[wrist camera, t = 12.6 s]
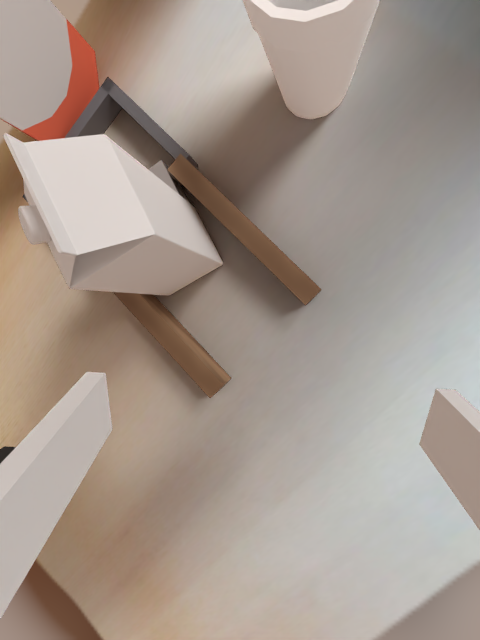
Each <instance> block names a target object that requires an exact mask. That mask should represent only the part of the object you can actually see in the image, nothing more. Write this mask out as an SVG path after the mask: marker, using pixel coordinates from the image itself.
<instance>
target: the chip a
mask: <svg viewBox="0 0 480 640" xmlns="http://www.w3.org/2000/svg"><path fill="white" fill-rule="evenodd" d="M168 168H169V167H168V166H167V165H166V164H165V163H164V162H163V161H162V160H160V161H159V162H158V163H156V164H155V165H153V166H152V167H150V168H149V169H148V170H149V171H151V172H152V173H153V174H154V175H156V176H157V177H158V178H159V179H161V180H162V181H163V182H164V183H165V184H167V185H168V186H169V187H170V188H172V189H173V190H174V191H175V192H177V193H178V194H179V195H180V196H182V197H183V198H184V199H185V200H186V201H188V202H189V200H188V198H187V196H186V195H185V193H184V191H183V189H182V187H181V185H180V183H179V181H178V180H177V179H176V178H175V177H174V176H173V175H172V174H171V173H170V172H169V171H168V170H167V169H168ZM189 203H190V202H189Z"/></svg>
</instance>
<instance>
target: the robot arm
mask: <svg viewBox="0 0 480 640" xmlns="http://www.w3.org/2000/svg"><path fill="white" fill-rule="evenodd" d="M111 431H112V421H111V413H110V404H109V396H108V388H107V380H106V373H101V372H86V373H85V374H84V375H83V376H82V377H81V378H80V379H79V380H78V381H77V383H76V384H75V385H74V386H73V387H72V388H71V389H70V390H69V391H68V392H67V393H66V394H65V395H64V396H63V397H62V399H61V400H60V401H59V402H58V403H57V404H56V405H55V406H54V407H53V408H52V409H51V410H50V411H49V412H48V413H47V415H46V416H45V417H44V418H43V419H42V420H41V421H40V422H39V423H38V424H37V425H36V426H35V427H34V428H33V429H32V431H31V432H30V433H29V434H28V435H27V436H26V437H25V438H24V439H23V440H22V441H21V442H20V443H19V444H18V445H17V447H3V448H1V449H0V619H1V617H2V616H3V614H4V612H5V611H6V609H7V607H8V605H9V604H10V602H11V600H12V599H13V597H14V595H15V594H16V592H17V590H18V589H19V587H20V585H21V583H22V582H23V580H24V578H25V577H26V575H27V573H28V572H29V570H30V568H31V566H32V565H33V563H34V561H35V560H36V558H37V556H38V555H39V553H40V551H41V550H42V548H43V546H44V544H45V543H46V541H47V539H48V538H49V536H50V534H51V533H52V531H53V529H54V527H55V526H56V524H57V522H58V521H59V519H60V517H61V516H62V514H63V512H64V511H65V509H66V507H67V505H68V504H69V502H70V500H71V499H72V497H73V495H74V494H75V492H76V490H77V488H78V487H79V485H80V483H81V482H82V480H83V478H84V477H85V475H86V473H87V472H88V470H89V468H90V466H91V465H92V463H93V461H94V460H95V458H96V456H97V455H98V453H99V451H100V449H101V448H102V446H103V444H104V443H105V441H106V439H107V438H108V436H109V434H110V432H111ZM419 445H420V446H421V447H422V449H423V450H424V452H425V453H426V454H427V456H428V457H429V459H430V460H431V462H432V463H433V464H434V466H435V467H436V469H437V470H438V472H439V473H440V474H441V476H442V477H443V479H444V480H445V482H446V483H447V484H448V486H449V487H450V489H451V490H452V492H453V493H454V494H455V496H456V497H457V499H458V500H459V501H460V503H461V504H462V506H463V507H464V509H465V510H466V511H467V513H468V514H469V516H470V517H471V519H472V520H473V521H474V523H475V524H476V526H477V527H478V529H479V530H480V412H479V411H478V410H477V409H476V408H475V407H474V406H473V405H472V404H471V403H470V402H468V401H467V400H466V399H465V398H464V397H463V396H462V395H461V394H460V393H459V392H457V391H456V390H454V389H436V390H435V394H434V397H433V400H432V404H431V407H430V410H429V414H428V417H427V420H426V424H425V427H424V430H423V434H422V437H421V440H420V444H419Z"/></svg>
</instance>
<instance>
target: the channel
mask: <svg viewBox="0 0 480 640" xmlns="http://www.w3.org/2000/svg"><path fill="white" fill-rule="evenodd" d="M167 170H168V171H169V172H170V173H171V174H172V175H173V176H174V177H175V178H176V179H177V180H178V181H179V182H180V183H181V184H182V185H183V186H184V187H185V188H187V189H188V190H189V191H190V192H191V193H192V194H193V195H194V196H195V197H196V198H197V199H198V200H199V201H200V202H201V203H202V204H203V205H204V206H205V207H206V208H207V209H208V210H209V211H210V212H211V213H212V214H213V215H214V216H215V217H216V218H217V219H218V220H219V221H220V222H221V223H222V224H223V225H224V226H225V227H226V228H227V229H228V230H229V231H230V232H231V233H232V234H233V235H234V236H235V237H236V238H237V239H238V240H239V241H240V242H241V243H242V244H243V245H244V246H246V247H247V248H248V249H249V250H250V251H251V252H252V253H253V254H254V255H255V256H256V257H257V258H258V259H259V260H260V261H261V262H262V263H263V264H264V265H265V266H266V267H267V268H268V269H269V270H270V271H271V272H272V273H273V274H274V275H275V276H276V277H277V278H278V279H279V280H280V281H281V282H282V283H283V284H284V285H285V286H286V287H287V288H288V289H289V290H290V291H291V292H292V293H293V294H294V295H295V296H296V297H297V298H298V299H299V300H300V301H301V302H302V303H304V304H305V305H307V304H308V303H309V302H310V301H311V300H312V299H313V298H314V297H315V296H316V295H317V294H318V293H319V292H320V291H321V289H320V288H319V287H318V286H317V285H316V284H315V283H314V282H313V281H312V280H311V279H310V278H309V277H308V276H307V275H306V274H305V273H304V272H303V271H302V270H301V269H300V268H299V267H298V266H297V265H296V264H295V263H293V262H292V261H291V260H290V259H289V258H288V257H287V256H286V255H285V254H284V253H283V252H282V251H281V250H280V249H279V248H278V247H277V246H276V245H275V244H274V243H273V242H272V241H271V240H270V239H269V238H268V237H267V236H266V235H264V234H263V233H262V232H261V231H260V230H259V229H258V228H257V227H256V226H255V225H254V224H253V223H252V222H251V221H250V220H249V219H248V218H247V217H246V216H245V215H244V214H243V213H242V212H241V211H240V210H239V209H238V208H237V207H235V206H234V205H233V204H232V203H231V202H230V201H229V200H228V199H227V198H226V197H225V196H224V195H223V194H222V193H221V192H220V191H219V190H218V189H217V188H216V187H215V186H214V185H213V184H212V183H211V182H210V181H209V180H207V179H206V178H205V177H204V176H203V175H202V174H201V173H200V172H199V171H198V170H197V169H196V168H195V167H194V166H193V165H192V164H191V163H190V162H189V161H188V160H187V159H186V158H185V157H184V156H183V155H182V154H181V153H180V154H179V156H178V157H177V158H176V159H175V161H174V162H173V163H172V164H171V166H170V167H169V168H168V169H167ZM113 293H114V294H115V295H116V296H117V297H118V298H119V299H120V300H121V301H122V303H123V304H124V305H125V306H126V307H127V308H128V309H129V310H130V311H131V312H132V314H133V315H134V316H135V317H136V318H137V319H138V320H139V321H140V322H141V323H142V324H143V326H144V327H145V328H146V329H147V330H148V331H149V332H150V333H151V334H152V335H153V336H154V338H155V339H156V340H157V341H158V342H159V343H160V344H161V345H162V346H163V347H164V349H165V350H166V351H167V352H168V353H169V354H170V355H171V356H172V357H173V358H174V359H175V361H176V362H177V363H178V364H179V365H180V366H181V367H182V368H183V369H184V370H185V372H186V373H187V374H188V375H189V376H190V377H191V378H192V379H193V380H194V381H195V382H196V384H197V385H198V386H199V387H200V388H201V389H202V390H203V391H204V392H205V393H206V395H207V396H208V397H209V398H211V397H212V396H213V395H214V394H215V393H217V392H218V391H219V390H220V389H221V388H222V387H223V386H224V385H225V384H226V383H227V382H228V381H229V380H230V379H231V377H230V376H229V375H228V374H227V373H226V372H225V371H224V370H223V369H222V368H221V366H220V365H219V364H218V363H217V362H216V361H215V360H214V359H213V358H212V357H211V356H210V355H209V354H208V353H207V351H206V350H205V349H204V348H203V347H202V346H201V345H200V344H199V343H198V342H197V341H196V340H195V339H194V338H193V337H192V335H191V334H190V333H189V332H188V331H187V330H186V329H185V328H184V327H183V326H182V325H181V324H180V323H179V322H178V320H177V319H176V318H175V317H174V316H173V315H172V314H171V313H170V312H169V311H168V310H167V309H166V308H165V307H164V306H163V304H162V303H161V302H160V301H159V300H158V299H157V298H156V297H155V296H154V295H153V294H137V293H122V292H113Z"/></svg>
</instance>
